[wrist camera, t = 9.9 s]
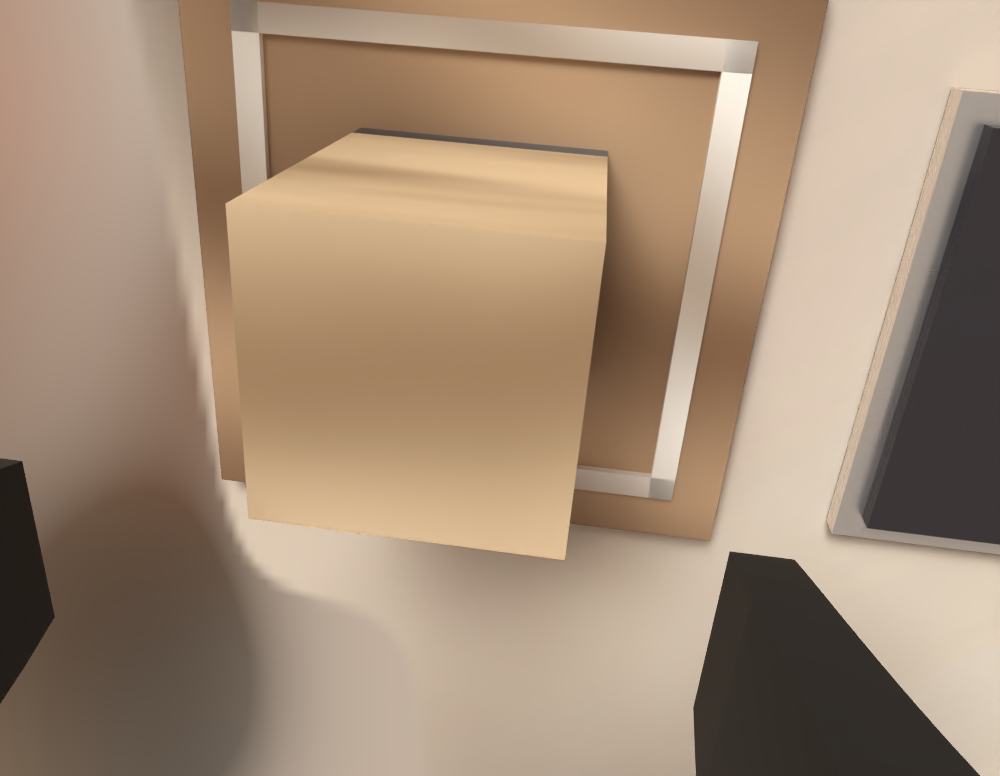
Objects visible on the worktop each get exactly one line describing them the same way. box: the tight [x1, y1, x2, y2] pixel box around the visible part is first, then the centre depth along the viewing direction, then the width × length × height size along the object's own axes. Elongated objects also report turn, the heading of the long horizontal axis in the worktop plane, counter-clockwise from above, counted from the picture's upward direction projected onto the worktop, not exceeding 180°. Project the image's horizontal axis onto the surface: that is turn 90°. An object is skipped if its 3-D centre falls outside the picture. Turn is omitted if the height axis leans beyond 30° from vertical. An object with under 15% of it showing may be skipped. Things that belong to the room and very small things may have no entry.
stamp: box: [225, 128, 608, 560], centre depth 13 cm, size 4×4×6 cm
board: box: [178, 0, 828, 541], centre depth 16 cm, size 11×11×1 cm
